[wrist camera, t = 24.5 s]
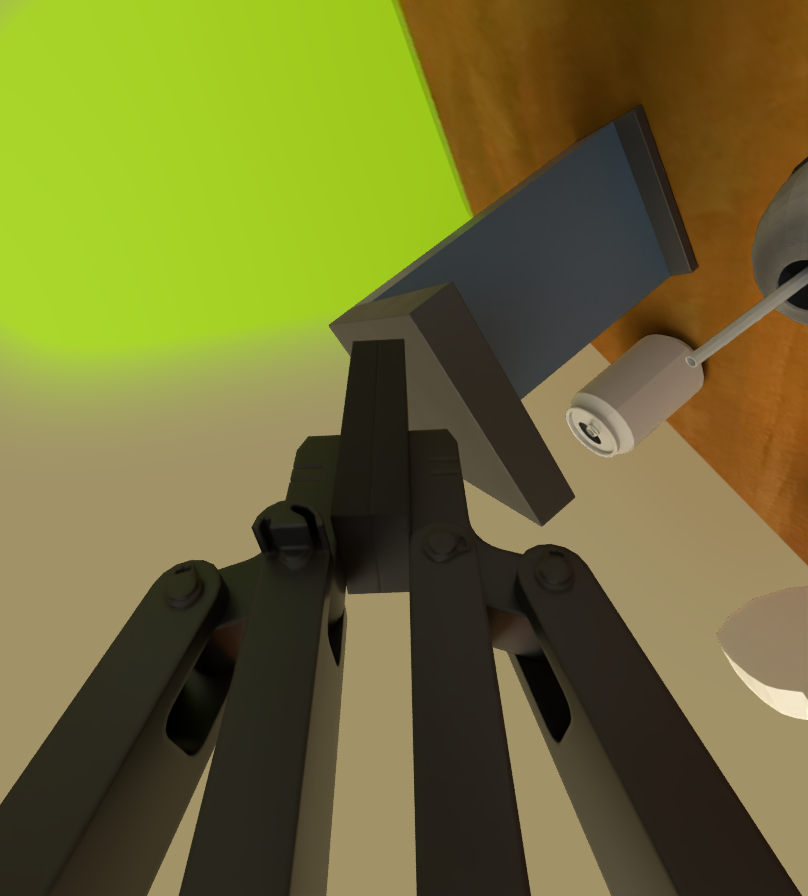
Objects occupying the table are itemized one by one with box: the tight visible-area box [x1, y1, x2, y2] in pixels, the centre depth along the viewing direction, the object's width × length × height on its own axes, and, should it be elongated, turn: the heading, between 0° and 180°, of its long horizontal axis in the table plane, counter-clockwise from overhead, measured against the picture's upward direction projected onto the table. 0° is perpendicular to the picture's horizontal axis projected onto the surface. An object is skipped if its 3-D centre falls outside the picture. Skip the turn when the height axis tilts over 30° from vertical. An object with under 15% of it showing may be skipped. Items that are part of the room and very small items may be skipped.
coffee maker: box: [329, 105, 698, 526], centre depth 32 cm, size 18×13×27 cm
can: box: [566, 334, 704, 458], centre depth 47 cm, size 8×8×12 cm
